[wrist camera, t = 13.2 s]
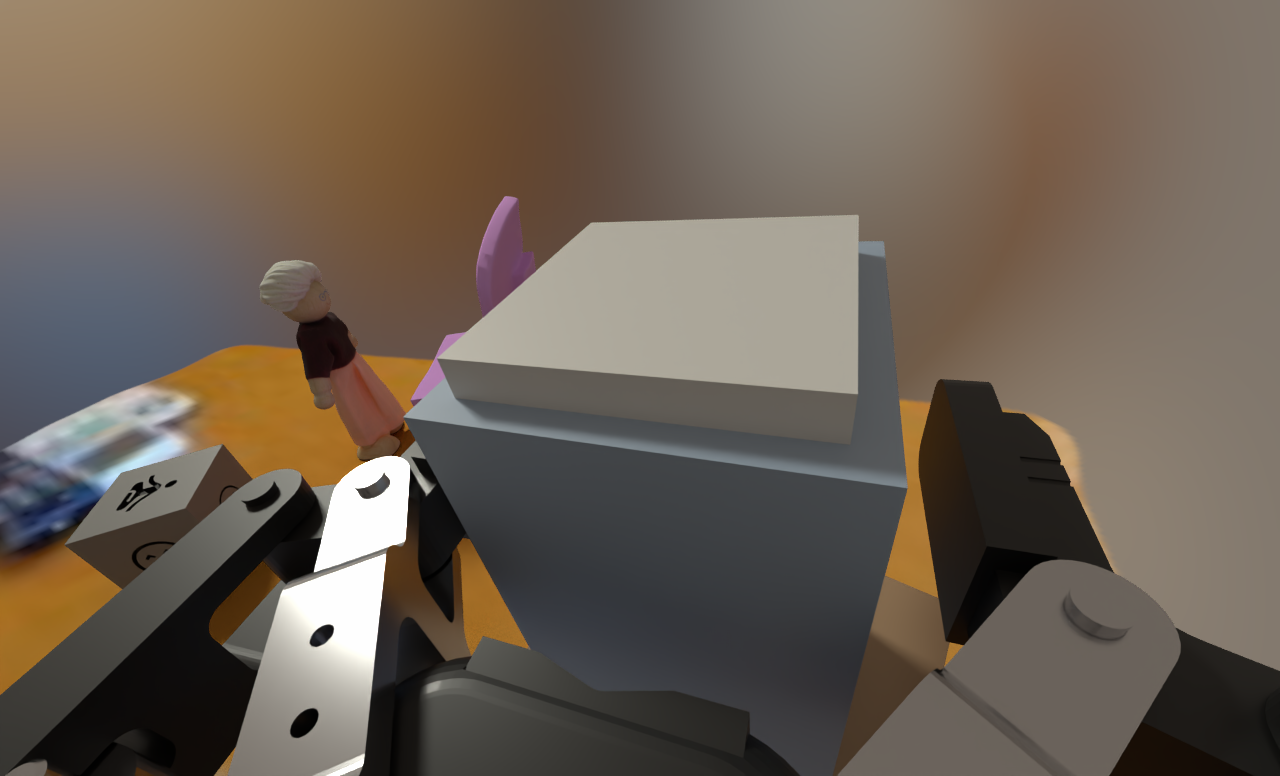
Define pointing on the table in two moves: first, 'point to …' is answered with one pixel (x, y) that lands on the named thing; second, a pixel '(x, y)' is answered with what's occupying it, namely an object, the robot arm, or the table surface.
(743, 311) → the slate-blue canister
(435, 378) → the toy chair
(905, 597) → the walnut block
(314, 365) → the grandmother figurine
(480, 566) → the table surface
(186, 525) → the dice cube
